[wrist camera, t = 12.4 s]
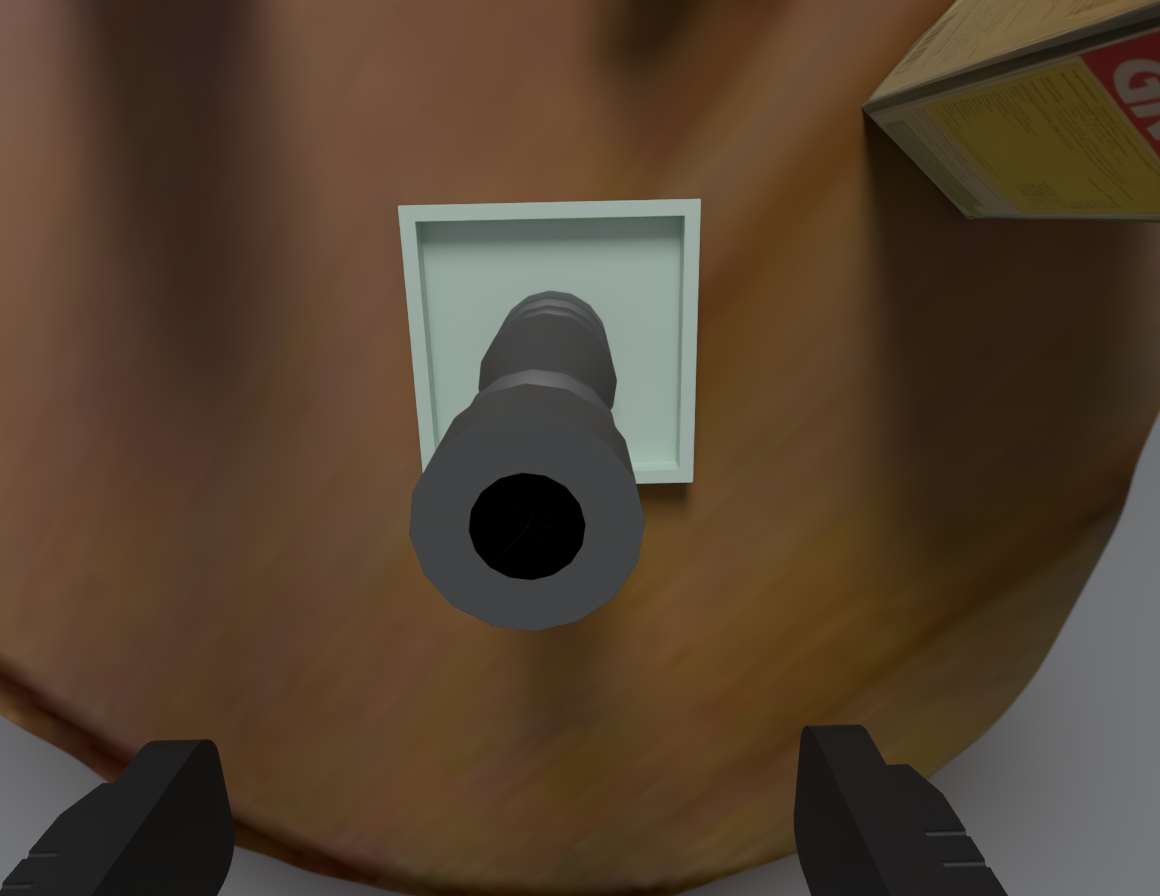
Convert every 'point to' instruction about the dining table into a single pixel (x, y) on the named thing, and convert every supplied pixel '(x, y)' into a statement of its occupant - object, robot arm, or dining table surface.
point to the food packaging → (1033, 108)
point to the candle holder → (533, 478)
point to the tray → (571, 265)
